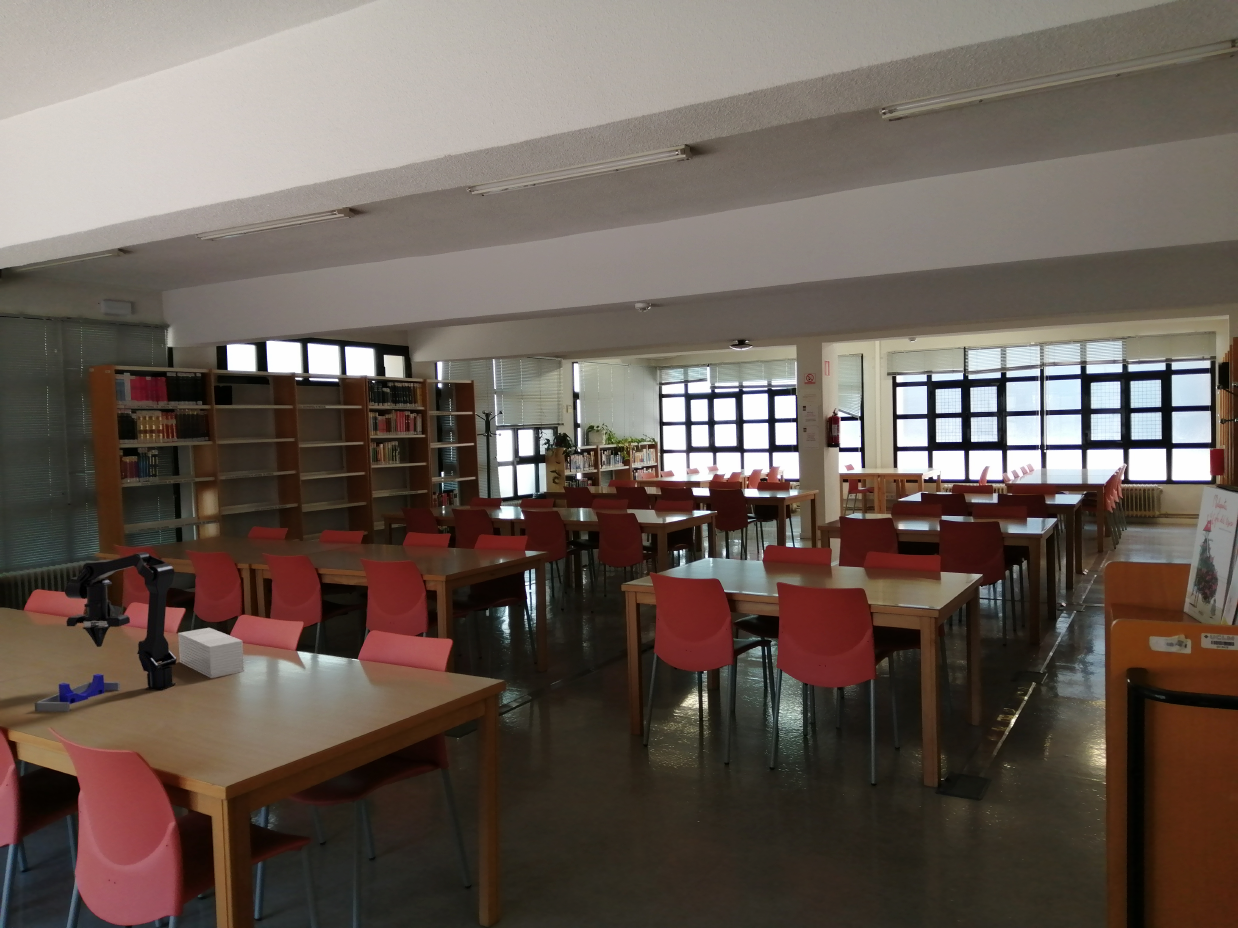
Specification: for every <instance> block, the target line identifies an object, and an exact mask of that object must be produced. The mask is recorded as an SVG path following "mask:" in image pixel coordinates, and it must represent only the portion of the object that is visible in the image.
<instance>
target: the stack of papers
mask: <svg viewBox="0 0 1238 928" xmlns="http://www.w3.org/2000/svg"><path fill="white" fill-rule="evenodd" d="M177 635H178V636H177V637H178V652H179V653H178V654H179V663H180V664H183V665H184V666H186V667H189V668H191V669H193V670H195V671H196V672H199V673H201V674H202V675H204V676H206V677H208V678H210V679H213V678H218V677H224V676H228V675H234V674H237V673H243V672H245V664H244V663H245V662H244V647H243V646H244V645H243V644H244V643H243V640H242V639H239V638H237V637H234V636H231V635H229V634H226V633H224V632H222V631H218V630H217V629H214V628H211V627H207V628H206V627H205V628H199V629H193V630H188V631H183V632H177Z"/></svg>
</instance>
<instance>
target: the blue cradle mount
mask: <svg viewBox="0 0 1238 928" xmlns="http://www.w3.org/2000/svg"><path fill="white" fill-rule="evenodd" d="M104 678H105V677H104V674H99V673H96V674H93V676H92V680H91V682H92V683H91V685H90V686H89V688H88V689H86V690H85V691H84V692H82V693H79V694H77V693H74V692H73V691H72V690H71V689H72V688H71V687H70V683H65V682H61V683H58V694H59V699H60V702H69V704H70V705H72V704H75V703H80V702H83V701H87V700H89V698H92V697H96V696H98V695H99V696H100V695H103V694H105V690H104V682H105V679H104Z"/></svg>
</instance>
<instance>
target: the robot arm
mask: <svg viewBox="0 0 1238 928" xmlns="http://www.w3.org/2000/svg"><path fill="white" fill-rule="evenodd" d="M82 565H83V566H82V569H81V571H80V572H79V574H78V575H77V576H76V577H71V578H69V582H68V583H67V584H66V586H65V589H64V594H65V597H67V598H68V599H77V600H78V599H79V600H86V603H84V608H87V614H76V615H72V616H69V617H68V618H67V620H66V627H76V626H78V624H83V626H82V630H85V632H86V633H87V634H88V635H89V637H90V638H91V640H92V641H93V643H94V644H95V646H96V647H97V648H100V647H102V645H103V643H104V640H105V637H106V635H107V632H108V631H109V629H110V628H113V627H114V628H118V627H121V626H125V625H128V624H130V623H131V620H130V619H131V618H130V616H129V615H128V614H121V610H122V607H120V606H117V605H112V601H111V600H108V586H113V583H112V581H110V580H109V579H108V578H106V577H109V576H111V575H112V574H114V573H115V572H117V571H120V570H126V569H128V568H132V567H134V568H135V569H136V572H137V574H138V575H139V576H141V577H142V578H143V579H144V586H145V587H146V589H147V591H148V592H149V593H148V594H149V595H148V596H149V597H148V607H147V608H148V609H147V610H148V611H147V622H146V623H147V625H146V636H145V638H144V639H143V640H140V641H138V644H137V648H138V649H137V653H136V655H138V660H139V662H140V665H141V667H142V670H143V672H147V673H146V679H147V686H146V687H145V690H150V691H151V690H160V691H161V690H166V689H169V688H170V687H173V686H174V685H177V683H176V682H175V681H173V668H172V666H175V665H176V664H177V657H176V655H174V654H173V653H172V652H171V651H170V648H169V642H168V639H167V638H166V637H165V624H166V609H167V597H168V594H167V593H168V591H169V589H170V588H171V586H172V584H174V583H173V582H174V578H175V569H174V567H173V566H172V565H171V564H169V563H168V562H166V561H164V560H163V559H161V558H158V557H155V556H153V555H152V554H150V553H149V552H146V551H142V552H136V553H134V554H132V555H127V556H123V557H119V558H117V559H115V558H114V559H101V560H96V561H89V562H85V563H83V564H82Z"/></svg>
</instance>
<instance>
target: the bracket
mask: <svg viewBox="0 0 1238 928" xmlns="http://www.w3.org/2000/svg"><path fill="white" fill-rule="evenodd" d="M91 683H92V681H88V682H85V683H83V684H79V685H77V686H75V687H72V688H71V690H72V691H73V692H74V693H77V694H79V693H82V692H84V691H85V690H86V689H88V688H89V686H90V685H91ZM120 690H121V683H120V681H104V691H120ZM70 705H71V704H69V702H60V699H59V693H57V694H55V695H52V696H49V697H46V698H44V699H40V700H39V701H36V702H34V711H35V712H55V713H56V712H63V713H65V712H66V713H67V712H70V711H71V708H70Z"/></svg>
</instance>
